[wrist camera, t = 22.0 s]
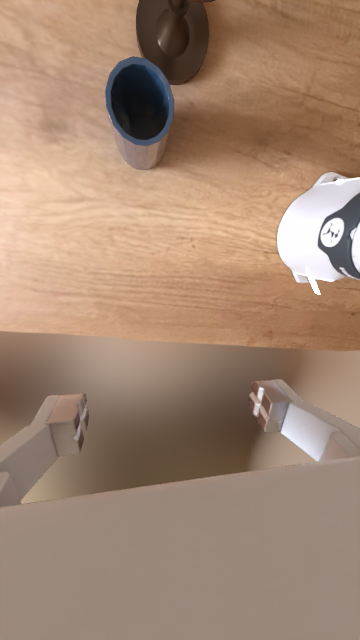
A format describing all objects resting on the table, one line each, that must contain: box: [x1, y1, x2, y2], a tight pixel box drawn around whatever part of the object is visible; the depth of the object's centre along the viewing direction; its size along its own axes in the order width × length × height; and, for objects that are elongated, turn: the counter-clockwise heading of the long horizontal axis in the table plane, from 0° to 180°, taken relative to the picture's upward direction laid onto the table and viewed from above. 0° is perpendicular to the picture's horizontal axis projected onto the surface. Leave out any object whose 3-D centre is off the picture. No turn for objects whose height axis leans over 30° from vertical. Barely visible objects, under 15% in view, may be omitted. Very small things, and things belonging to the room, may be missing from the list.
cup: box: [105, 57, 174, 170], centre depth 26 cm, size 7×7×11 cm
